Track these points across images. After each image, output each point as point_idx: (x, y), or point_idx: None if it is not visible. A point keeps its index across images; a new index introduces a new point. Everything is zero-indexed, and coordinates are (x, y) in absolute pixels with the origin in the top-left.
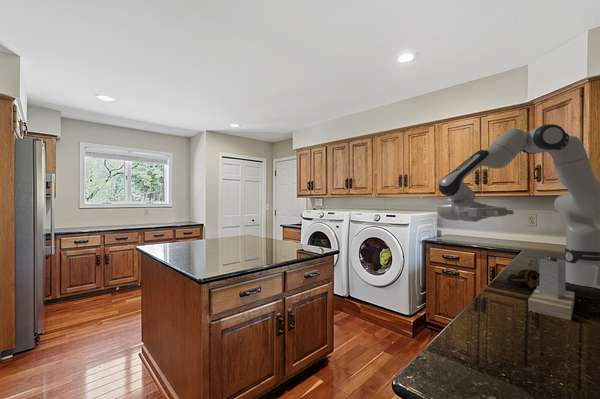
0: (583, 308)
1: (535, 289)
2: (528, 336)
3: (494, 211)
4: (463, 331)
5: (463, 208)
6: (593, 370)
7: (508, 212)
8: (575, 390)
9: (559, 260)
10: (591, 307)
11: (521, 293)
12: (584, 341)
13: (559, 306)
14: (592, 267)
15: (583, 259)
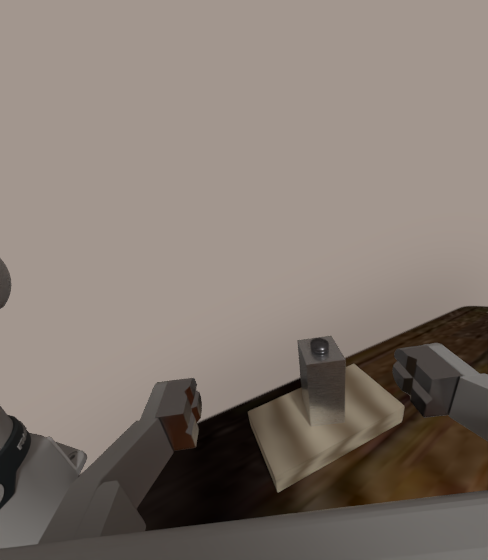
0: None
1: (315, 454)
2: (472, 360)
3: (462, 369)
4: None
5: None
6: (438, 317)
7: (191, 417)
8: (480, 307)
9: (308, 343)
10: (256, 400)
11: None
12: (395, 342)
13: (364, 373)
14: (47, 448)
15: (26, 454)
